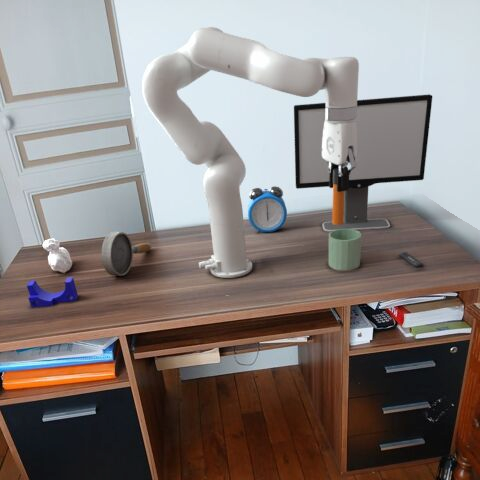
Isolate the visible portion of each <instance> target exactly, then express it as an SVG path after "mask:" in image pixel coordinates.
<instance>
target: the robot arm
mask: <svg viewBox="0 0 480 480" xmlns="http://www.w3.org/2000/svg"><path fill="white" fill-rule="evenodd" d="M359 63H360V62H359V60H358V59H357V58H356V57H355V56H339V57H333V58H319V57H307V58H305V59H301V58H297V57H294V56H290V55H286V54H283V53H280V52H277V51H274V50H272V49H270V48H269V47H267V46H265V45H264V44H263V43H261V42H259V41H257V40H254V39H250V38H246V37H242V36H238V35H234V34H230V33H227V32H224V31H223V30H221V29H220V28H218V27H215V26H214V27H213V26H208V27H201V28H199V29H196V30H195V31H194V32H193V33H192V34H191V36H190V38H189V40H188V42H187V43H185V44H184V45H182V46H180V47H179V48H178V49H176V50H174V51H173V52H172V53H169V54H162V55H160V56H157V57H156V58H154V59H153V60H152V61H150V62H149V63H148V65H147V66H146V69H145V71H144V73H143V77H142V82H141V88H142V89H141V90H142V97H143V99H144V102H145V105H146V107H147V108H148V110H149V111H150V113H151V114H152V116H153V117H154V118H155V119H156V120H157V122H158V123H159V124H160V126H161V127H162V128H163V130H164V131H165V133H166V134H167V135H168V137H169V139H171V141H172V142H173V143H174V145H175V146H176V147H177V149H179V151H180V152H181V154H182V155H183V156H184V158H185V159H186V160H187V161H188V162H189V163H191V164H192V165H196V166H201V165H204V164H205V166H207V170H206V171H205V174H204V176H203V191H204V195H205V199H206V203H207V210H208V218H209V226H210V234H211V242H212V251H213V252H212V253H213V254H212V255H211V257H210V258H209V259H208V260H202V261H199V262H198V267H199V269H200V270H201V269H205V271H209V270H210V273H211V274H212V276H215V277H217V278H220V279H221V278H222V279H234V278H239V277H243V276H245V275H248V274H249V273H250V272H251V271H252V270H253V262H252V261H251V260H250V259H248V258H247V249H246V248H247V247H246V246H247V245H246V237H245V223H244V211H243V204H242V203H243V202H242V198H241V191H240V190H241V189H240V187H241V185H242V183H243V182H244V180H245V177H246V173H247V171H246V169H247V168H246V165H245V162H244V160H243V159H242V157H241V156H240V154H239V153H238V152H237V150H236V148H235V147H234V146H233V144H232V143H231V142H230V140H229V139H228V138H227V137H226V135H225V133H224V132H223V131H222V129H220V128H219V127H218V126H217V125H216V124H214V123H212V122H210V121H207V120H206V121H205V120H204V121H200V120H199V119H198V118H197V117H196V115H195V114H194V113H193V111H192V110H191V108H190V107H189V106H188V105H187V104H186V102H184V101H183V99H181V97H180V95H179V94H178V91H179V90H181V89H184V88H186V87H188V86H189V85H191V84H193V82H195V81H197V80H198V79H200V78H201V77H203V76H204V75H206V74H208V73H209V72H210V71H213V72H217V73H222V74H225V75H229V76H232V77H236V78H239V79H243V80H247V81H249V82H251V83H254V84H256V85H260V86H263V87H266V88H268V89H272V90H275V91H279V92H282V93H284V94H289V95H292V96H297V97H301V98H309V97H313V96H316V95H317V94H318V93H319V91H322V90H325V102H324V103H325V122H324V128H323V137H322V158H323V159H324V160H326V161H327V163H328V166H329V168H328V170H329V172H331V173H329V188H330V189H333V169H335V168H339V176H337V191H338V192H341V191H346V190H348V189H349V175H350V174H351V171H352V170H353V169H354V168H355V167H356V165H355V161H356V156H357V128H356V118H357V100H358V94H359V70H360V69H359V68H360V64H359ZM345 161H347V162H345ZM343 166H346V167H344V169H343Z"/></svg>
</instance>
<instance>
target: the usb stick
mask: <svg viewBox="0 0 480 480" xmlns="http://www.w3.org/2000/svg"><path fill="white" fill-rule="evenodd" d="M398 256H399V257H400V258H401V259H403V261H405V262H407V263H408V264H410V266H412V267H413V268H415V269H420V268H424V264H423V262H421V261H419V260H418V259H416V258H415V257H413V256H412V255H411V254H409V253H408V252H406V251H403V252H401V253H400V254H399V255H398Z"/></svg>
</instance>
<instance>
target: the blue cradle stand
mask: <svg viewBox="0 0 480 480" xmlns="http://www.w3.org/2000/svg"><path fill="white" fill-rule="evenodd" d="M64 285H65V286H64V290H62V291H59V292H49V291H46V290H44V289H43V288H42V287H40V285H39V284H38V283H37V280H30V281H29V282H28V283H27V285H26V288H27V292H28V294H29V296H28V298H27V299H28V303H29V305H30V307H31V308H42V307H53V306H54V305H55V304H57V303H58V304H59V303H70V302H76V301H77V300H78V298H79V293H78V290H77V287H76V283H75V279H74V277H73V276H71V277H66V279H65V282H64Z"/></svg>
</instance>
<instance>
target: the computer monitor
mask: <svg viewBox="0 0 480 480" xmlns="http://www.w3.org/2000/svg"><path fill="white" fill-rule="evenodd" d="M432 105H433V95H432V94H430V93H429V94H428V93H427V94H417V95H406V96H405V95H404V96H392V97H382V98H381V97H380V98H367V99H357V118H356V128H357V156H356V161H355V165H356V167H355V168H354V169H353V170H352V171H351V174H350V175H349V189H348V190H346V191H345V195H344V223H343V224H342V225H334V224H332V221H325V222H322V224H321V225H322V229H323V231H325V232H328V233H330V232H332V231H334V230H338V229H353V230H357V231H363V230H378V229H381V230H383V229H389V228H390V227H391V224H390V222H389V220H388V219H386V218H381V217H380V218H368V203H369V202H368V200H369V187H371V186H373V185H376V184H385V183H386V184H387V183H399V182H414V181H416V182H417V181H423V180H424V179H425V172H426V170H425V169H426V162H427V161H426V160H427V152H428V143H429V134H430V123H431V113H432ZM324 122H325V102H319V103H318V102H317V103H307V104H305V103H304V104H295V105H293V129H294V130H293V131H294V175H295V177H294V179H295V188H296V189H297V190H298V189H310V188H326V187H329V173H331V172H329V170H328V168H329V166H328V163H327V161H326V160H324V159H323V158H322V137H323V128H324ZM345 162H347V161H345ZM344 167H346V166H343V168H344ZM329 188H330V187H329Z"/></svg>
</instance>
